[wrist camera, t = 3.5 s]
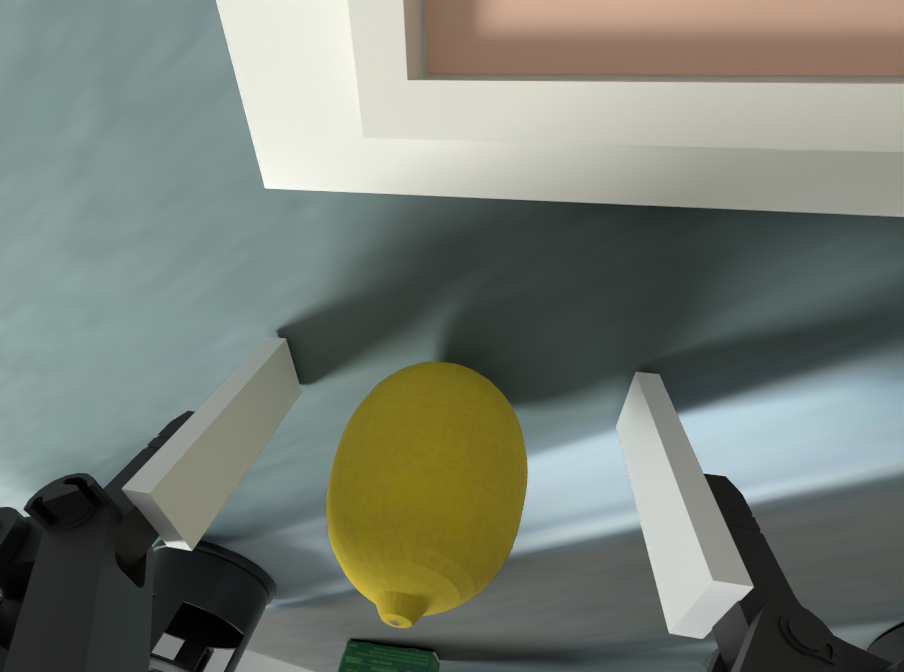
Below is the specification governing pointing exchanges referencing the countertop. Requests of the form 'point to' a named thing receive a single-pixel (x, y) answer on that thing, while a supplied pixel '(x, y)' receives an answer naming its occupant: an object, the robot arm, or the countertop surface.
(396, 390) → the lemon
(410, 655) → the coffee box
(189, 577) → the french press
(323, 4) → the tray
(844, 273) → the countertop surface
